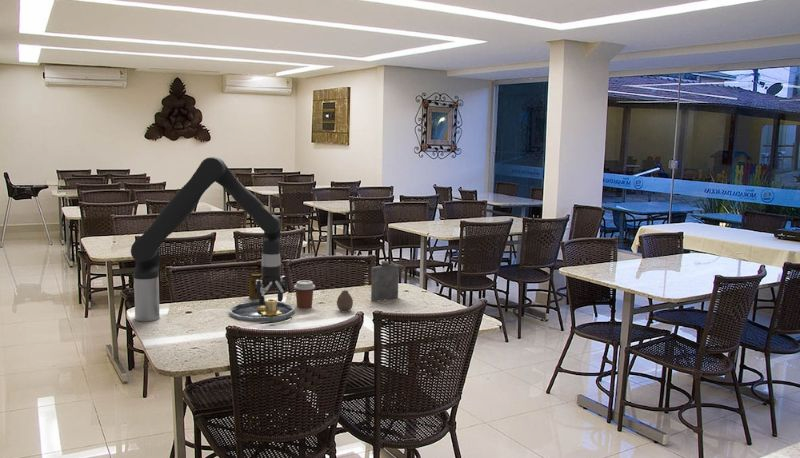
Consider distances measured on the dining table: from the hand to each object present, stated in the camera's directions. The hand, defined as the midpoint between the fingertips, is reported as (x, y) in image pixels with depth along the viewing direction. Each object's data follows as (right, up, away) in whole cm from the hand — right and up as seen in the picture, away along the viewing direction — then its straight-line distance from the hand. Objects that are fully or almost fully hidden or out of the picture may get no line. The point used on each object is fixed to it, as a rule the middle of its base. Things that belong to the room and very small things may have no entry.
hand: (270, 302), depth 267 cm
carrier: (-5, -6, +6) cm, 10 cm away
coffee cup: (+11, -5, +17) cm, 21 cm away
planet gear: (0, -5, +1) cm, 6 cm away
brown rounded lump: (+29, -5, +16) cm, 34 cm away
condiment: (-13, -3, +29) cm, 32 cm away
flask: (+45, -3, +38) cm, 59 cm away
